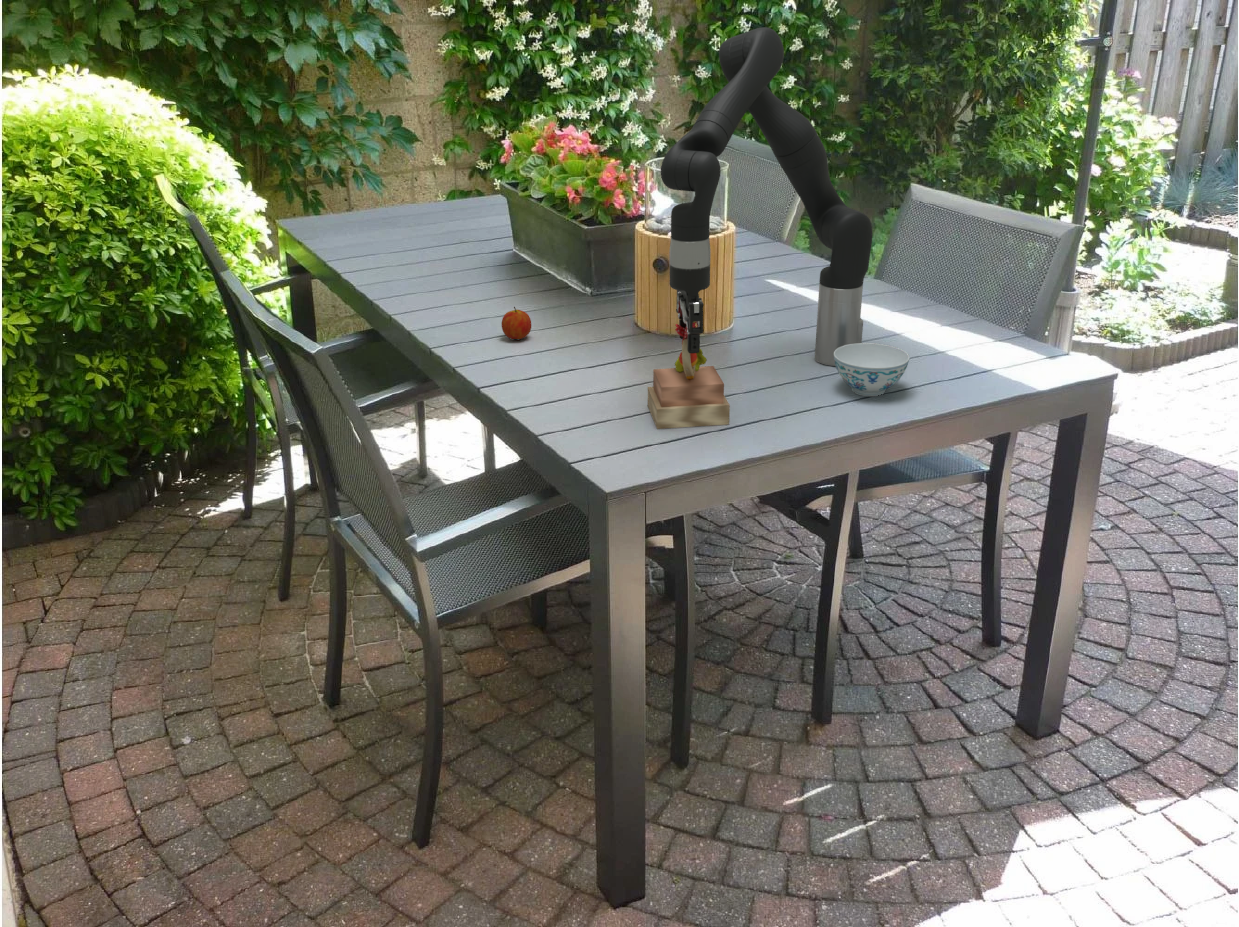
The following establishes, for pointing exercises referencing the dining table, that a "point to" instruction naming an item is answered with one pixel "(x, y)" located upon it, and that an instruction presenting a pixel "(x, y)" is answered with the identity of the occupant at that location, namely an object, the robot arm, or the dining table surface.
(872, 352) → the chinaware
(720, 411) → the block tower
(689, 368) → the bird rattle
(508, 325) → the fruit
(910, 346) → the dining table surface
